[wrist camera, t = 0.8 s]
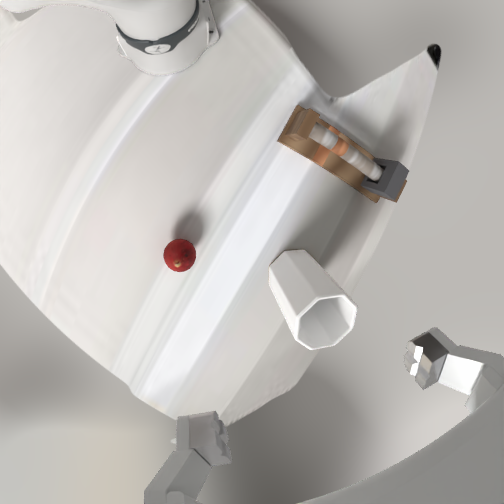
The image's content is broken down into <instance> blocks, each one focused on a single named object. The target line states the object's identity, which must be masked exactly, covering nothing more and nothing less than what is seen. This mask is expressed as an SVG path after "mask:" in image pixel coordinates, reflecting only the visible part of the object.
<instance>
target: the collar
mask: <svg viewBox="0 0 504 504" xmlns="http://www.w3.org/2000/svg"><path fill="white" fill-rule="evenodd" d="M373 162H375V163H376V164H377V165H378V166H380V167H381V168H382V169H384V172H383V174H382V176H381V178H380V180H379V182H378V184H377V183H376V182H375V181H373V180H372V179H371V178H369V177H368V176H366V175H365V177H364V179H363V181H362V183H361V186H362V187H364V188H365V189H367V190H368V191H369V192H371V193H374V194H377V195H380V196H383V197H385V198H388V199H391V200H394V201H395V199H396V197H397V195H398V193H399V191H400V189H401V187H402V185H403V183H404V181H405V179H406V177H407V175H408V172H409V170H408V169H407V168H406V167H405V166H403V165H402V164H401V163H400V162H398V161H392V160H385V159H377V158H374V159H373Z"/></svg>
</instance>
